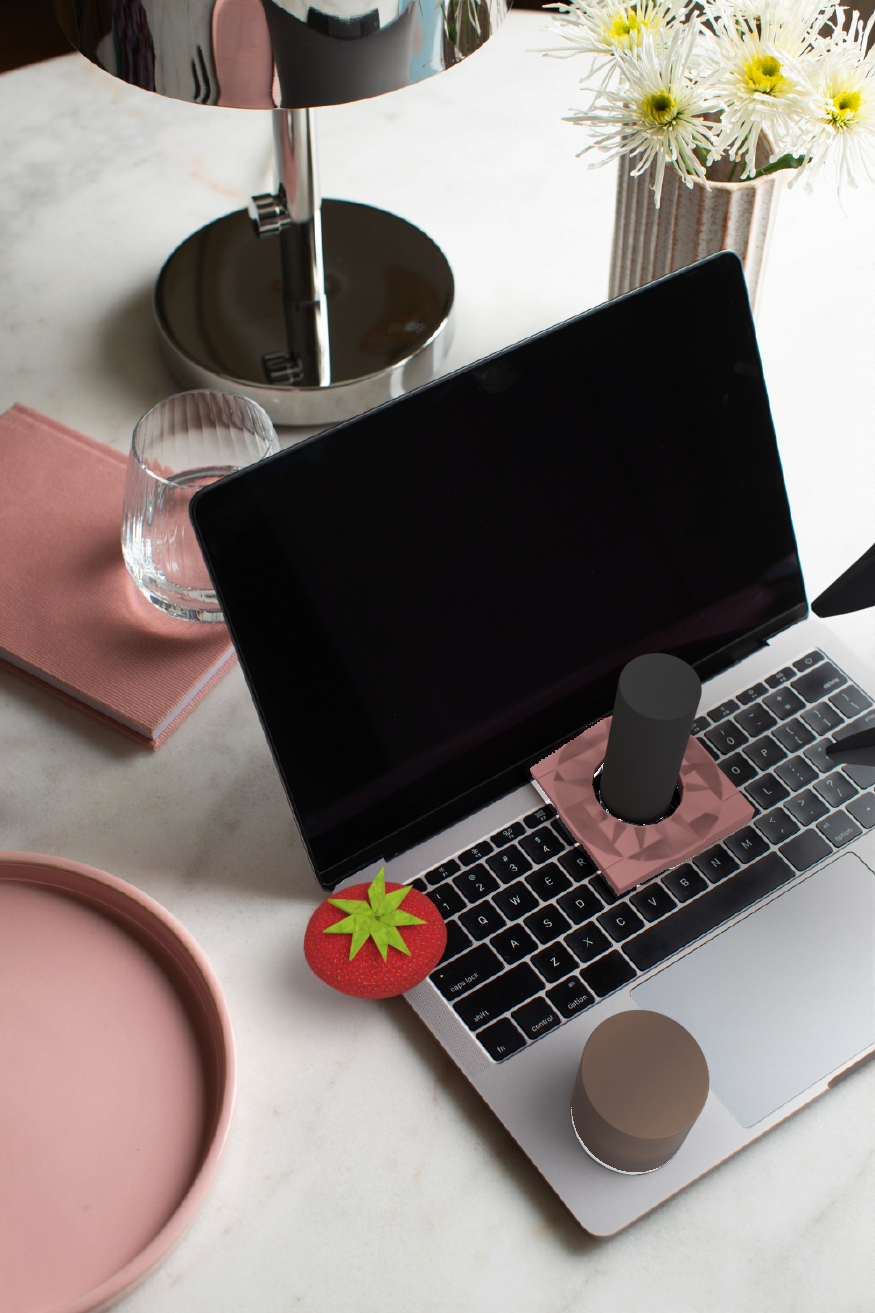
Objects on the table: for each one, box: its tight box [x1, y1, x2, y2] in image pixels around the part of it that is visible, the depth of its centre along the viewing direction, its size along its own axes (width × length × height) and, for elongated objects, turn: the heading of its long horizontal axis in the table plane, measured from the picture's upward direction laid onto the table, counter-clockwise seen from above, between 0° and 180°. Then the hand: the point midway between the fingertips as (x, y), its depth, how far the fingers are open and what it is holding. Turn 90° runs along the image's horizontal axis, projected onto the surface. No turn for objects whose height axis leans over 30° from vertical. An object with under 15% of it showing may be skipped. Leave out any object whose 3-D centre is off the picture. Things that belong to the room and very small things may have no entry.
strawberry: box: [302, 865, 448, 1000], centre depth 60 cm, size 6×8×10 cm
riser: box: [570, 1009, 710, 1172], centre depth 56 cm, size 6×6×7 cm
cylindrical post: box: [598, 652, 703, 825], centre depth 65 cm, size 4×4×12 cm
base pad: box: [530, 715, 756, 896], centre depth 69 cm, size 10×10×2 cm
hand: (821, 680), depth 58 cm, fingers open, 9 cm apart
